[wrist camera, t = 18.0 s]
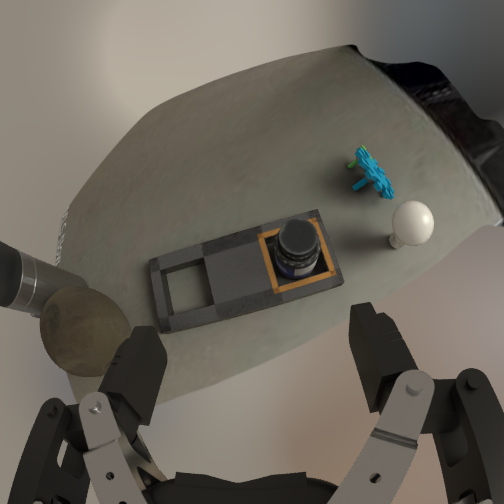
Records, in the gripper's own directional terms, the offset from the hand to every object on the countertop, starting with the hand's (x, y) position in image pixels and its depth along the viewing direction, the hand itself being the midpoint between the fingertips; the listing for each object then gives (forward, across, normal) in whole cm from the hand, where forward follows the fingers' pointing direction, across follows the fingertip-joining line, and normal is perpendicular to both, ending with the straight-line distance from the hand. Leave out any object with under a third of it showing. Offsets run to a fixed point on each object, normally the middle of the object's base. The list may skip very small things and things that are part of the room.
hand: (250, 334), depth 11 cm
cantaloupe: (+23, +28, +20) cm, 42 cm away
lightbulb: (+30, -21, +13) cm, 39 cm away
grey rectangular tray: (+29, +4, +15) cm, 33 cm away
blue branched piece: (+39, -20, +5) cm, 44 cm away
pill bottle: (+30, -4, +14) cm, 33 cm away
